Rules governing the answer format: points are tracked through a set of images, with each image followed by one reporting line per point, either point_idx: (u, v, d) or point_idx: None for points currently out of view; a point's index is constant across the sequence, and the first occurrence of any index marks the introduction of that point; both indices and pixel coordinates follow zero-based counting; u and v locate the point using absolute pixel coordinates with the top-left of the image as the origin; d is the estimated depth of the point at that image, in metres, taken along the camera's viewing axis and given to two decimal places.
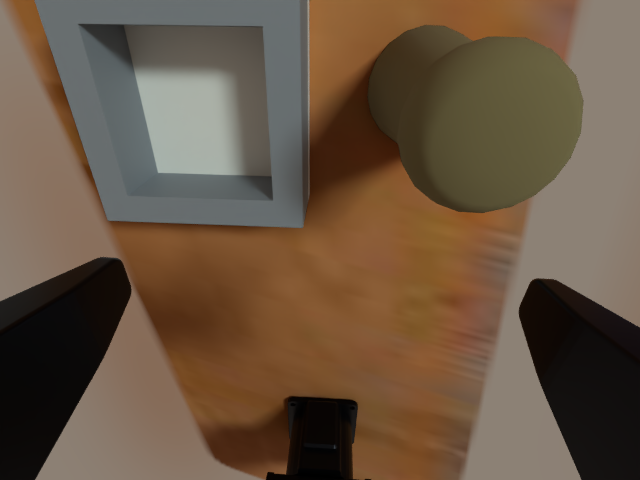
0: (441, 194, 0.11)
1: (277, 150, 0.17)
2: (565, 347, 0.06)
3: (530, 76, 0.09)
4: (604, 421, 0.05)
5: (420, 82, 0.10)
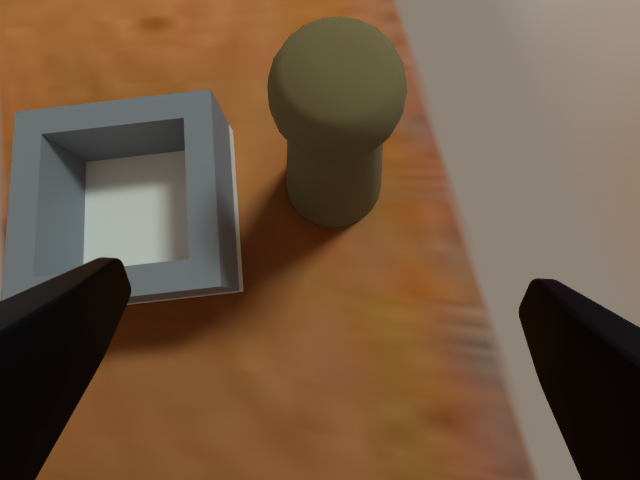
0: (305, 117, 0.12)
1: (193, 206, 0.18)
2: (565, 347, 0.06)
3: (339, 21, 0.12)
4: (604, 421, 0.05)
5: None
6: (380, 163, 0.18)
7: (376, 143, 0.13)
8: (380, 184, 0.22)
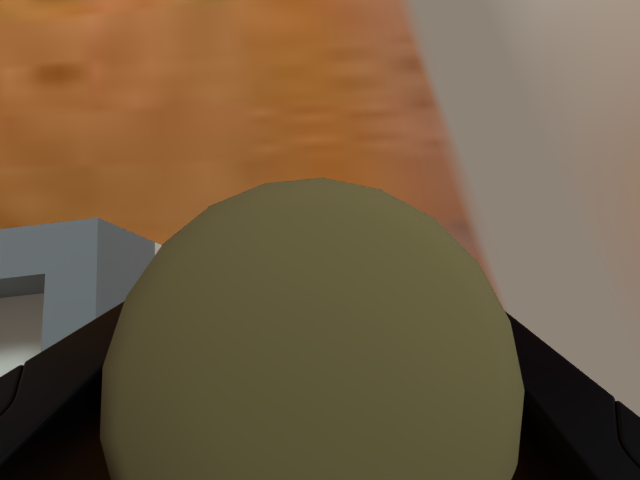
0: None
1: None
2: None
3: (314, 214, 0.04)
4: None
5: None
6: None
7: None
8: None
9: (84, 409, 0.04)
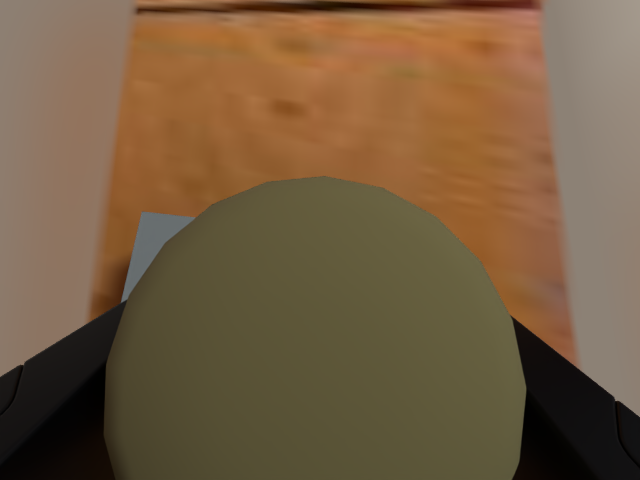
0: None
1: None
2: None
3: (317, 212, 0.04)
4: None
5: None
6: None
7: None
8: None
9: (84, 409, 0.04)
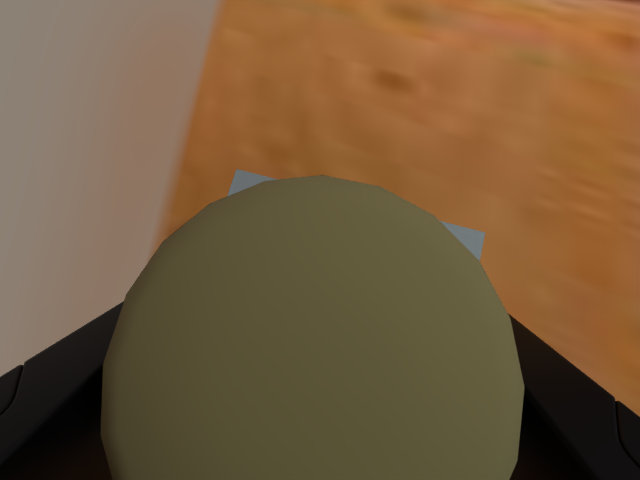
0: None
1: None
2: None
3: (314, 212, 0.04)
4: None
5: None
6: None
7: None
8: None
9: (84, 409, 0.04)
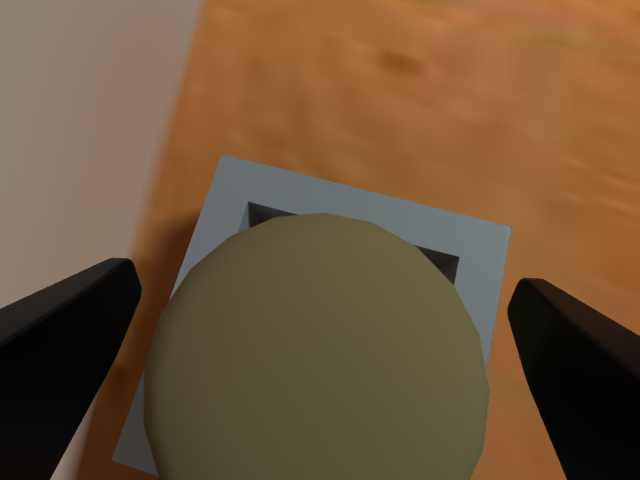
0: None
1: None
2: (551, 346, 0.06)
3: (318, 249, 0.05)
4: (588, 420, 0.05)
5: None
6: None
7: None
8: None
9: None
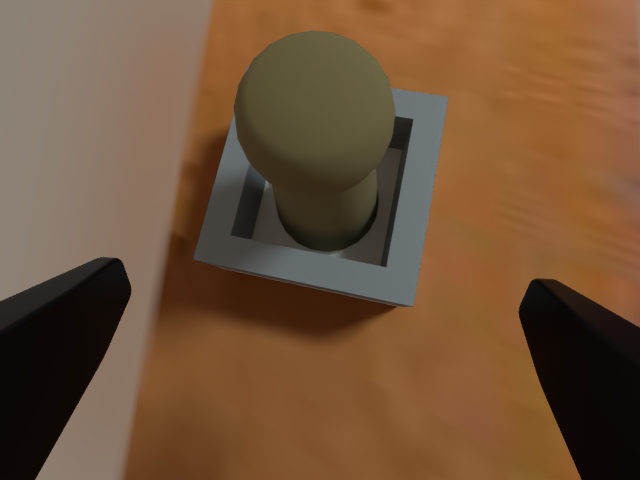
0: (276, 154, 0.10)
1: (403, 215, 0.17)
2: (565, 347, 0.06)
3: (310, 37, 0.10)
4: (604, 421, 0.05)
5: None
6: (374, 183, 0.16)
7: (363, 175, 0.11)
8: (378, 201, 0.20)
9: None
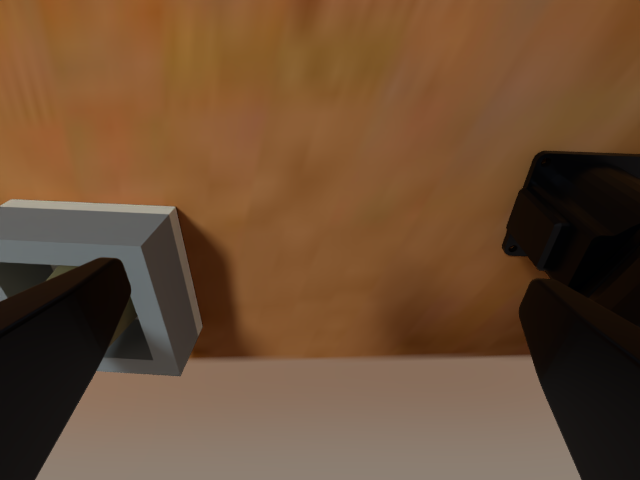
0: None
1: (71, 260, 0.19)
2: (565, 347, 0.06)
3: None
4: (604, 421, 0.05)
5: None
6: None
7: None
8: None
9: None
